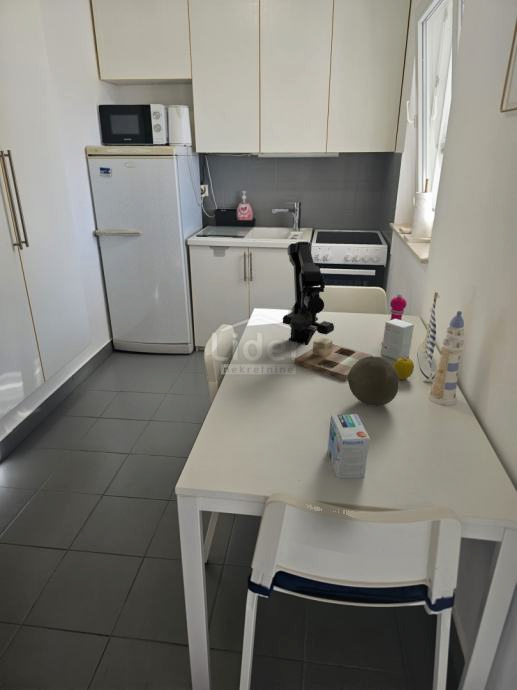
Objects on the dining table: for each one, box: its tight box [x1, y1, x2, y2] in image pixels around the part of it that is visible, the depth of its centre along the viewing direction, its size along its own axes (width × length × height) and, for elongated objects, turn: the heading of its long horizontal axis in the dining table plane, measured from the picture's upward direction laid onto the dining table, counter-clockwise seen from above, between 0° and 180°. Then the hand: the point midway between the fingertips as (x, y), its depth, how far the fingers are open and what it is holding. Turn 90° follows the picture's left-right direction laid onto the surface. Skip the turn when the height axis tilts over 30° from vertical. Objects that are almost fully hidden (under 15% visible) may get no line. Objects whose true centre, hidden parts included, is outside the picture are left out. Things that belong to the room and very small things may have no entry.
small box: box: [381, 319, 415, 361], centre depth 166 cm, size 8×6×13 cm
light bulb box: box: [326, 413, 371, 479], centre depth 106 cm, size 11×7×11 cm, turn 5°
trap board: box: [294, 343, 374, 381], centre depth 161 cm, size 20×21×2 cm
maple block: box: [312, 336, 333, 357], centre depth 163 cm, size 5×5×5 cm
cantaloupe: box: [347, 356, 400, 407], centre depth 131 cm, size 14×14×15 cm
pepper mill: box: [389, 293, 407, 321], centre depth 177 cm, size 7×7×20 cm
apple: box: [392, 357, 415, 380], centre depth 149 cm, size 6×6×8 cm
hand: (306, 345), depth 167 cm, fingers closed
